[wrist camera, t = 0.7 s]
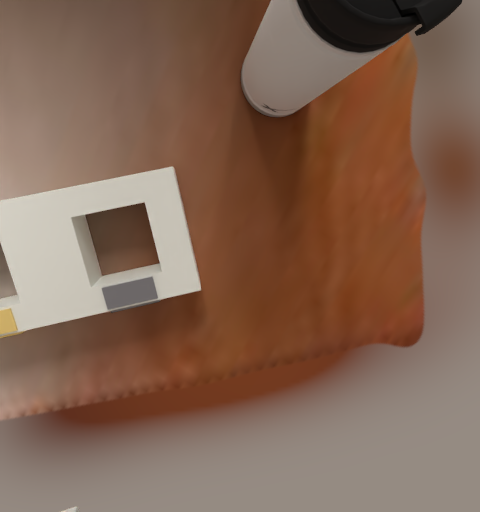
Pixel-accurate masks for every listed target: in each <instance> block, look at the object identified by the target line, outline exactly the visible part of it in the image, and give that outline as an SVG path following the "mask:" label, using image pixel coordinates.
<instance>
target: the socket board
mask: <svg viewBox="0 0 480 512" xmlns="http://www.w3.org/2000/svg"><path fill="white" fill-rule="evenodd" d="M143 202H145V205H146V209H147V213H148V217H149V221H150V225H151V230H152V234H153V238H154V242H155V246H156V250H157V254H158V258H159V262H160V263H159V264H154V265H149V266H145V267H140V268H136V269H131V270H127V271H122V272H118V273H113V274H109V275H104V276H102V273H101V269H100V266H99V262H98V259H97V255H96V252H95V248H94V245H93V241H92V238H91V234H90V230H89V227H88V223H87V220H86V216H85V214H90V213H95V212H100V211H105V210H109V209H114V208H119V207H124V206H129V205H134V204H139V203H143ZM0 243H1V246H2V249H3V252H4V255H5V258H6V261H7V264H8V267H9V270H10V273H11V276H12V279H13V282H14V285H15V288H16V291H17V294H18V295H14V296H9V297H5V298H0V338H4V337H8V336H13V335H17V334H21V333H23V332H25V331H26V330H30V329H34V328H39V327H43V326H47V325H52V324H56V323H60V322H65V321H69V320H74V319H78V318H82V317H87V316H91V315H95V314H100V313H104V312H108V311H111V313H113V312H117V311H121V310H126V309H130V308H134V307H139V306H143V305H148V304H152V303H156V302H160V300H161V299H165V298H169V297H174V296H178V295H182V294H187V293H191V292H196V291H200V290H201V284H200V277H199V273H198V268H197V264H196V259H195V255H194V251H193V246H192V242H191V238H190V233H189V229H188V224H187V220H186V216H185V211H184V207H183V203H182V198H181V194H180V189H179V185H178V181H177V176H176V172H175V168H174V167H173V166H172V167H167V168H162V169H157V170H152V171H147V172H142V173H137V174H132V175H127V176H122V177H117V178H112V179H107V180H102V181H97V182H92V183H87V184H82V185H77V186H72V187H67V188H62V189H57V190H52V191H47V192H42V193H37V194H32V195H27V196H22V197H17V198H12V199H7V200H2V201H0Z"/></svg>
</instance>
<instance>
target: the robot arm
mask: <svg viewBox="0 0 480 512" xmlns="http://www.w3.org/2000/svg"><path fill="white" fill-rule="evenodd" d="M60 512H80V511H79V509H78V507H77V506H76V507H73V508H70V509H67V510H63V511H60Z"/></svg>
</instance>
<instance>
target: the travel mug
mask: <svg viewBox="0 0 480 512" xmlns="http://www.w3.org/2000/svg"><path fill="white" fill-rule="evenodd" d="M461 3H462V0H271V2H270V4H269V6H268V8H267V11H266V13H265V15H264V17H263V20H262V22H261V24H260V26H259V29H258V31H257V33H256V35H255V38H254V40H253V42H252V44H251V47H250V49H249V51H248V53H247V56H246V58H245V60H244V62H243V66H242V70H241V86H242V89H243V93H244V95H245V97H246V99H247V101H248V102H249V103H250V104H251V106H252V107H253V108H255V109H256V110H257V111H258V112H260V113H262V114H264V115H267V116H270V117H285V116H288V115H291V114H293V113H294V112H296V111H298V110H299V109H300V108H302V107H303V106H305V105H306V104H308V103H309V102H311V101H312V100H314V99H315V98H316V97H318V96H319V95H321V94H322V93H324V92H325V91H327V90H328V89H329V88H331V87H332V86H334V85H335V84H337V83H338V82H340V81H341V80H342V79H344V78H345V77H347V76H348V75H350V74H351V73H353V72H354V71H356V70H357V69H358V68H360V67H361V66H363V65H364V64H366V63H367V62H369V61H370V60H371V59H373V58H374V57H376V56H377V55H379V54H380V53H382V52H383V51H384V50H386V49H387V48H388V47H390V46H392V45H393V44H395V43H396V42H397V41H398V40H399V39H401V38H402V37H403V36H404V35H405V34H406V33H408V32H410V31H411V30H412V29H414V28H415V27H416V26H417V25H418V24H422V27H421V28H419V29H418V30H417V31H415V34H416V35H417V36H418V35H421V34H425V33H426V32H428V31H429V30H431V29H432V28H434V27H435V26H437V25H438V24H439V23H440V22H442V21H443V20H444V19H446V18H447V17H448V16H449V15H450V14H451V13H452V12H453V11H454V10H455V9H456V8H457V7H458V6H459V5H460V4H461Z"/></svg>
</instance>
